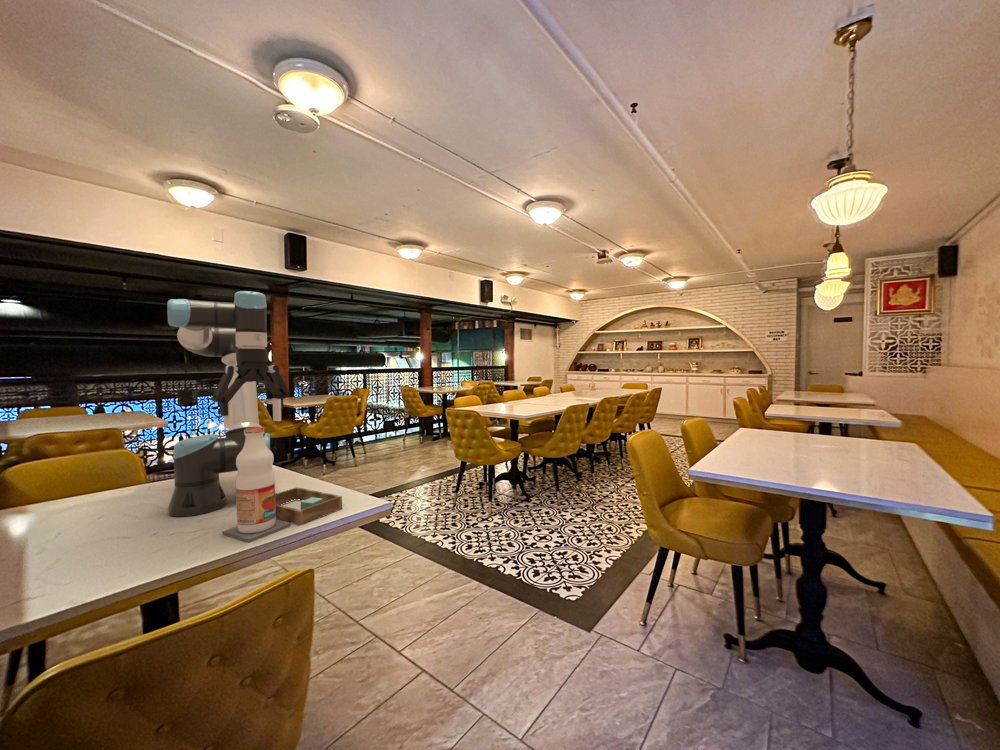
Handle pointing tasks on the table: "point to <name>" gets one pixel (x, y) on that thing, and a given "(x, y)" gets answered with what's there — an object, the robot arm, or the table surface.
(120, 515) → the table surface
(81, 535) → the table surface
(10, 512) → the table surface
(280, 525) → the slate coaster
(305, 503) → the teal block
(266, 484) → the fruit juice
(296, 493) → the brown wooden tray
